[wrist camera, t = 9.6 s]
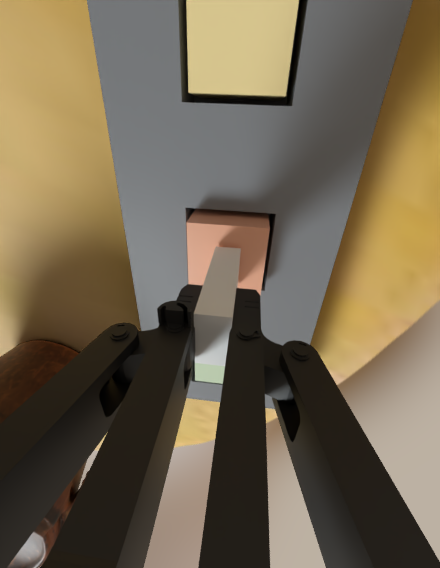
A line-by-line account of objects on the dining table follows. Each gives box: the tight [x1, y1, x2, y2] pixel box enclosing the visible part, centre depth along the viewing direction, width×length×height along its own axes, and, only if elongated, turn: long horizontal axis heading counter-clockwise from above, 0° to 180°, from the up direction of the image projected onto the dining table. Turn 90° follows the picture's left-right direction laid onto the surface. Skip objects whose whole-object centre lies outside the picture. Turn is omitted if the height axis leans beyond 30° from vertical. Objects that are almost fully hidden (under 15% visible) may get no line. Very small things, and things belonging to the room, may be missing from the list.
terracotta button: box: [186, 208, 270, 295], centre depth 18 cm, size 5×5×4 cm
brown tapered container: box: [0, 340, 89, 568], centre depth 27 cm, size 18×20×18 cm
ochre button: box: [186, 0, 299, 101], centre depth 13 cm, size 5×5×4 cm
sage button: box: [195, 363, 225, 384], centre depth 25 cm, size 5×5×4 cm
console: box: [87, 0, 413, 409], centre depth 20 cm, size 33×14×4 cm, turn 178°
